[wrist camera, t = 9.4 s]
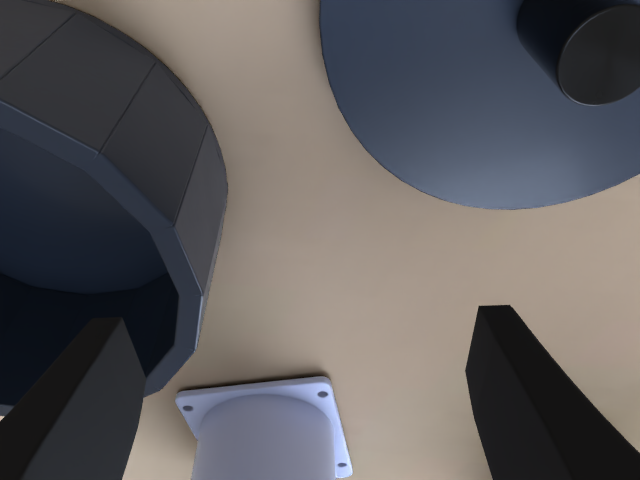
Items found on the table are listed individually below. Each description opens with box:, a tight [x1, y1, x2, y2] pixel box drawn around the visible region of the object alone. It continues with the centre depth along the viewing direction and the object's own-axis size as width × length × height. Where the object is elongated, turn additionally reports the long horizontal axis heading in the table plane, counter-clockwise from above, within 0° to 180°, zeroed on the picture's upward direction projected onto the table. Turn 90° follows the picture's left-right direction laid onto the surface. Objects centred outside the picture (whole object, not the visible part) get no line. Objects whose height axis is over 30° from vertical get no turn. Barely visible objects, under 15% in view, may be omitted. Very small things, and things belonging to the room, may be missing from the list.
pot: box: [0, 0, 228, 416], centre depth 17 cm, size 12×12×6 cm
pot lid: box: [319, 0, 640, 210], centre depth 14 cm, size 13×13×4 cm
